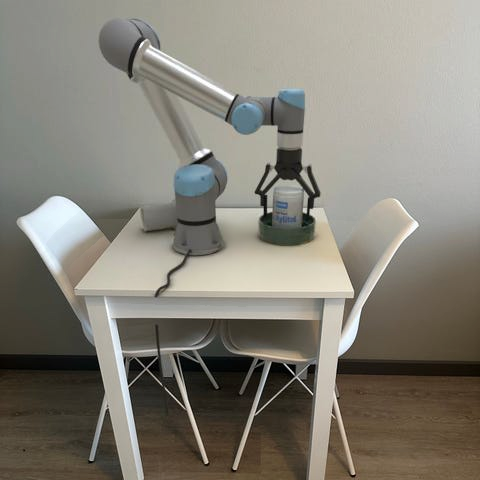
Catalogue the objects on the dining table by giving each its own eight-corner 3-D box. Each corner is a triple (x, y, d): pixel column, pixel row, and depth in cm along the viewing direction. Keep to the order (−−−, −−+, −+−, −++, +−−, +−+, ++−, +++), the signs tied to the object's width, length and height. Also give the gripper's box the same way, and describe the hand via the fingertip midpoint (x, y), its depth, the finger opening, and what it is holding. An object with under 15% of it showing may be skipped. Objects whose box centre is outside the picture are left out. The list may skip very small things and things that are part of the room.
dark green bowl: (322, 243, 145) (323, 226, 143) (265, 248, 143) (265, 231, 140) (304, 224, 161) (305, 208, 158) (253, 228, 158) (253, 212, 155)
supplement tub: (274, 240, 147) (275, 193, 140) (269, 229, 155) (270, 185, 148) (304, 238, 148) (307, 192, 140) (298, 228, 156) (300, 184, 148)
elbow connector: (189, 232, 152) (202, 213, 169) (180, 201, 147) (194, 184, 164) (140, 241, 156) (157, 222, 173) (129, 211, 151) (148, 194, 168)
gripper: (332, 146, 139) (326, 215, 150) (250, 143, 143) (249, 211, 154) (332, 151, 132) (325, 223, 143) (245, 148, 137) (245, 218, 148)
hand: (286, 217), depth 149 cm, fingers open, 13 cm apart
